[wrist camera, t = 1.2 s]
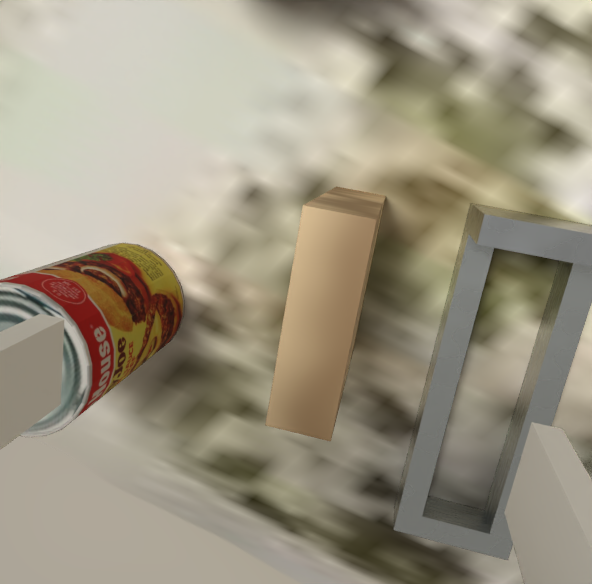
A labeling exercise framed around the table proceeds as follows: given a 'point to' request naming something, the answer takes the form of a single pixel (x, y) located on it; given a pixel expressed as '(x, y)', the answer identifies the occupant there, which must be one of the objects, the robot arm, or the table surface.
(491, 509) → the track
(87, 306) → the canned food
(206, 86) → the table surface
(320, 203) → the door panel
